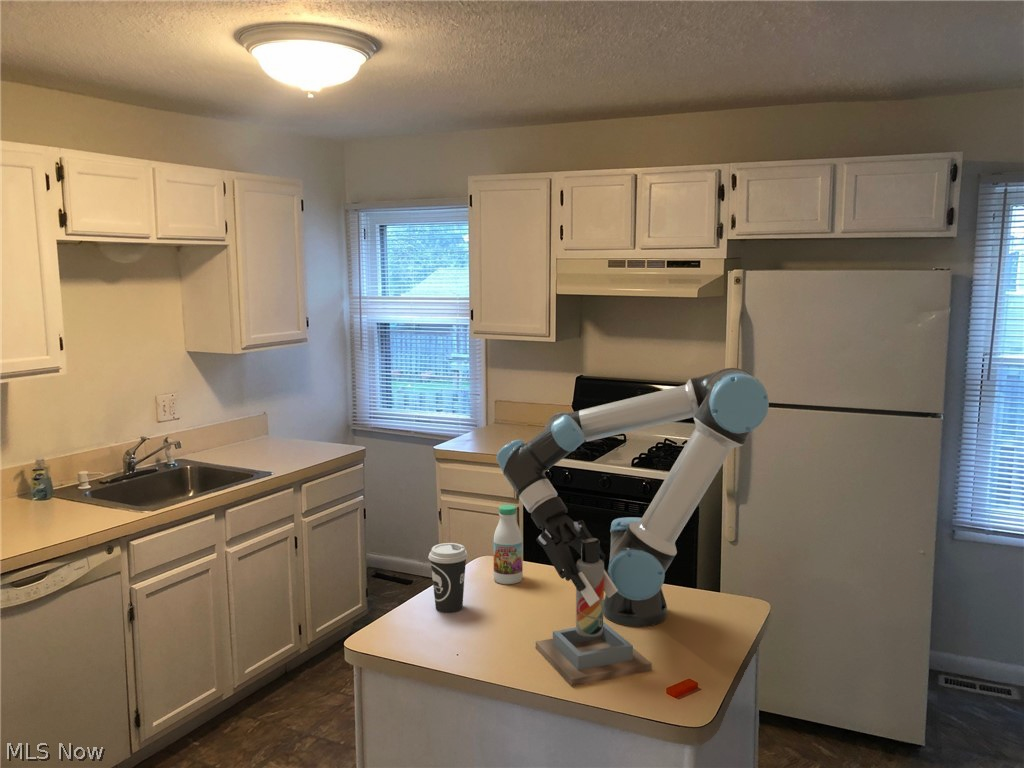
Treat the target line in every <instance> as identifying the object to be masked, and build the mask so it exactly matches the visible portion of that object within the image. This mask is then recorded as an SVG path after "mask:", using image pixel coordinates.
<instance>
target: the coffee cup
mask: <svg viewBox="0 0 1024 768" xmlns="http://www.w3.org/2000/svg"><path fill="white" fill-rule="evenodd" d="M468 558H469V555H468V552H467V550H466V548H465V546H464V545H463V544H459V543H456V542H455V543H454V542H447V543H446V542H444V543H439V544H435V545H434V546H432V547H431V551H430V552H429V554H428V557H427V559H429V561H430V566H431V578H432V585H433V593H434V594H433V595H434V597H433V598H434V605H435V610H436V611H437V612H439V613H444V614H454V613H457V612H460V611H461V610H462V609H463V604H464V592H465V591H464V590H465V579H466V564H467V559H468Z"/></svg>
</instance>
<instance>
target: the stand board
mask: <svg viewBox="0 0 1024 768" xmlns="http://www.w3.org/2000/svg"><path fill="white" fill-rule="evenodd" d="M572 645H573V646H575V647H576V648H577V649H578V650H579V651H580V652H581V653H582V652H587V651H593V650H598V649H603V648H609V647H611V646H610V645H609V644H608V643H607V642H606V641H604V640H603V639H597V640H591V641H586V642H580V643H575V644H572ZM535 650H537V651H538V652H539V654H540V655H541V657H543V658H544V659H545V660H546V661H547V663H549V664H550V666H552V667H553V668H554V670H555V671H556V672H557V673H558V674H559V675H560V676H561V677H562V678H563V679H564V680H565V681H566V683H568V685H569V686H570V687H571V688H573V687H577V686H582V685H587V684H592V683H597V682H601V681H607V680H611V679H616V678H621V677H622V678H623V677H625V676H630V675H635V674H641V673H645V672H650V671H653V670H652V669H653V668H652V667H653V664H652V662H651V661H649V660H648V659H647V657H645V656H643V655H642V654H641V653H640V652H638V650H636V648H634V647H633V660H629V661H624V662H619V663H614V664H609V665H604V666H599V667H594V668H589V669H584V670H579V671H578V670H577V669H576V668H575V667H574V666H573V665H572V664H571V663H570V662H569V661H568V660H567V659H566V658H565V657H564V656H563V655H562V654H561V653H560V652H559V651H558V650H557V649H556V648H555V647H554V646H553V638H548V639H543V640H537V641H535Z"/></svg>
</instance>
